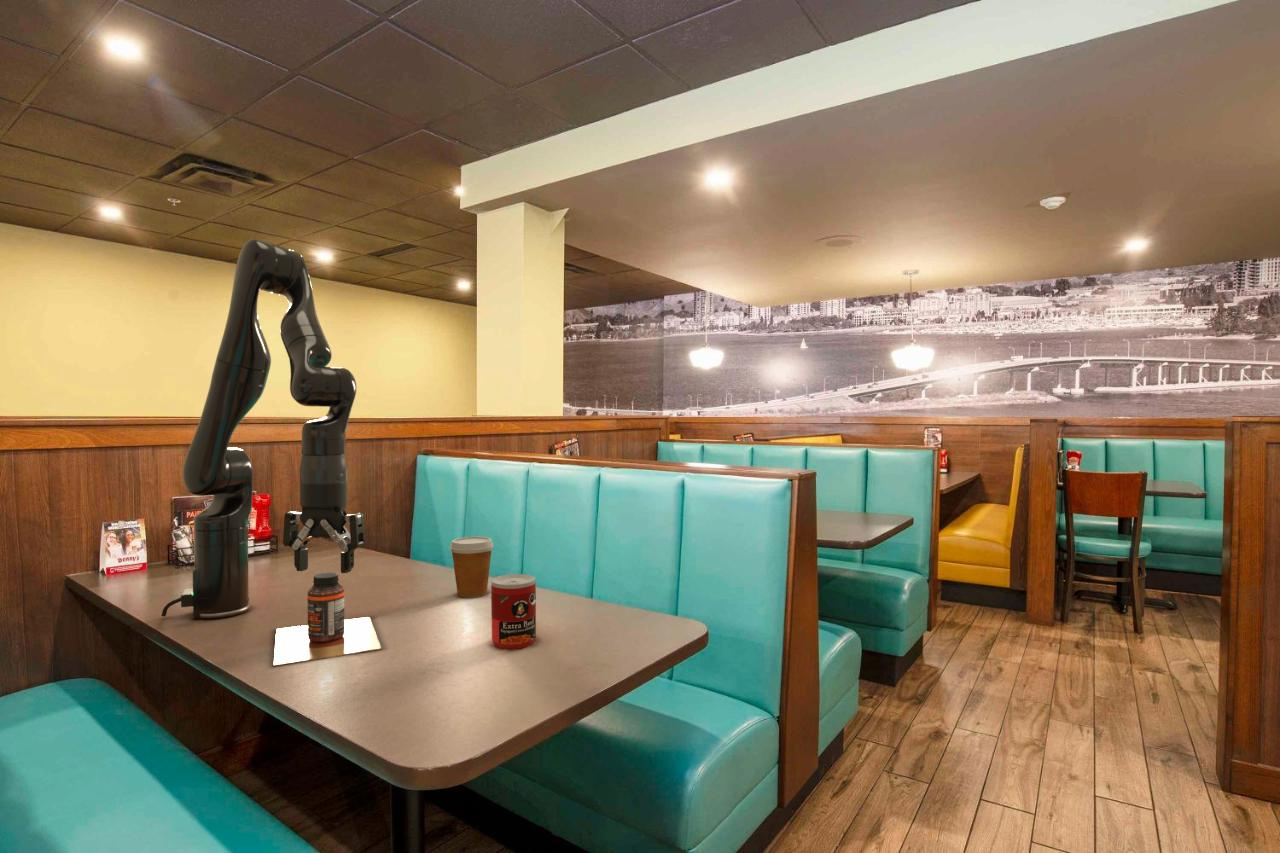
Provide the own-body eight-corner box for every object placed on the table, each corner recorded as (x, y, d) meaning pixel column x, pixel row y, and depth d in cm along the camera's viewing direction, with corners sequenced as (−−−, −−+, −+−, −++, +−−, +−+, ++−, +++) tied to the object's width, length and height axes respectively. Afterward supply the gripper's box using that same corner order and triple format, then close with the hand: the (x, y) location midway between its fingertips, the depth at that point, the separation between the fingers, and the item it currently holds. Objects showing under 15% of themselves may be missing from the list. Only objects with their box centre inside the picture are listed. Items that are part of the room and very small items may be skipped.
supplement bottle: (299, 641, 116) (298, 576, 116) (327, 631, 122) (326, 569, 121) (325, 645, 114) (324, 579, 114) (352, 634, 119) (351, 572, 119)
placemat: (273, 666, 105) (273, 664, 105) (276, 630, 123) (276, 629, 123) (381, 649, 112) (381, 648, 112) (369, 617, 130) (369, 616, 130)
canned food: (498, 652, 111) (498, 587, 110) (486, 638, 118) (485, 576, 118) (542, 645, 114) (542, 581, 114) (528, 631, 121) (527, 571, 121)
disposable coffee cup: (482, 600, 142) (482, 544, 142) (442, 598, 144) (441, 543, 144) (501, 589, 151) (500, 537, 151) (462, 587, 153) (461, 535, 153)
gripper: (373, 478, 120) (373, 568, 120) (301, 477, 122) (301, 565, 122) (348, 483, 112) (348, 578, 112) (272, 481, 114) (272, 574, 115)
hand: (324, 571), depth 117 cm, fingers open, 8 cm apart
